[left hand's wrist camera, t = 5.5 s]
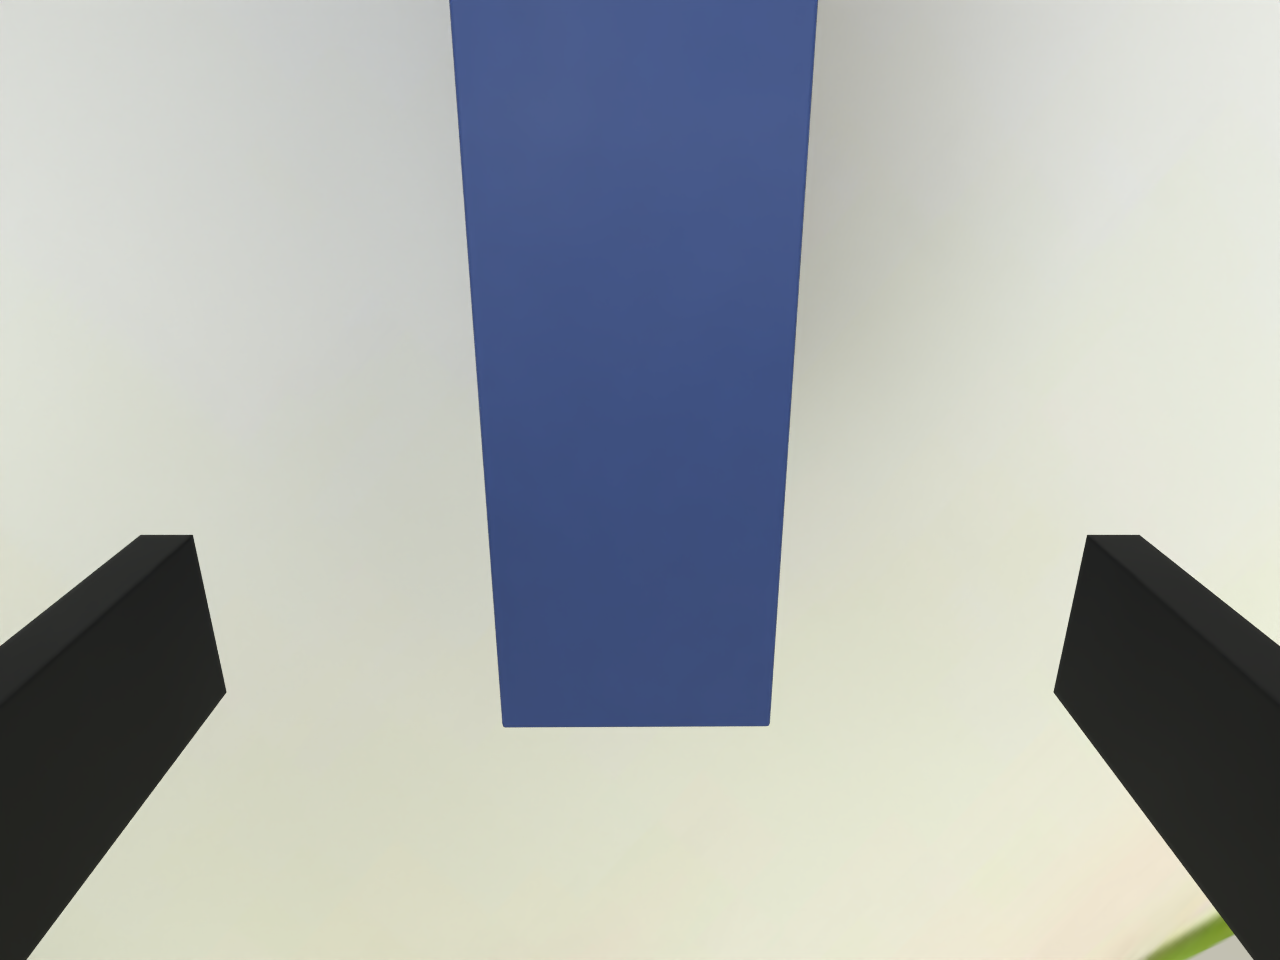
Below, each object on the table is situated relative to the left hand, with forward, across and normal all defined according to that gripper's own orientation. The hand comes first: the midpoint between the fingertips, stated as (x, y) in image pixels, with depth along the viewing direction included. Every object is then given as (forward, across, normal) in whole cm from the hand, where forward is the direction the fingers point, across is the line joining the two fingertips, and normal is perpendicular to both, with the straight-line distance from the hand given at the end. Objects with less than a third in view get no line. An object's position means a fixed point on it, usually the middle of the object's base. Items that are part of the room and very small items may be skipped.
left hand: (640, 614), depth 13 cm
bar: (+11, 0, -11) cm, 16 cm away
